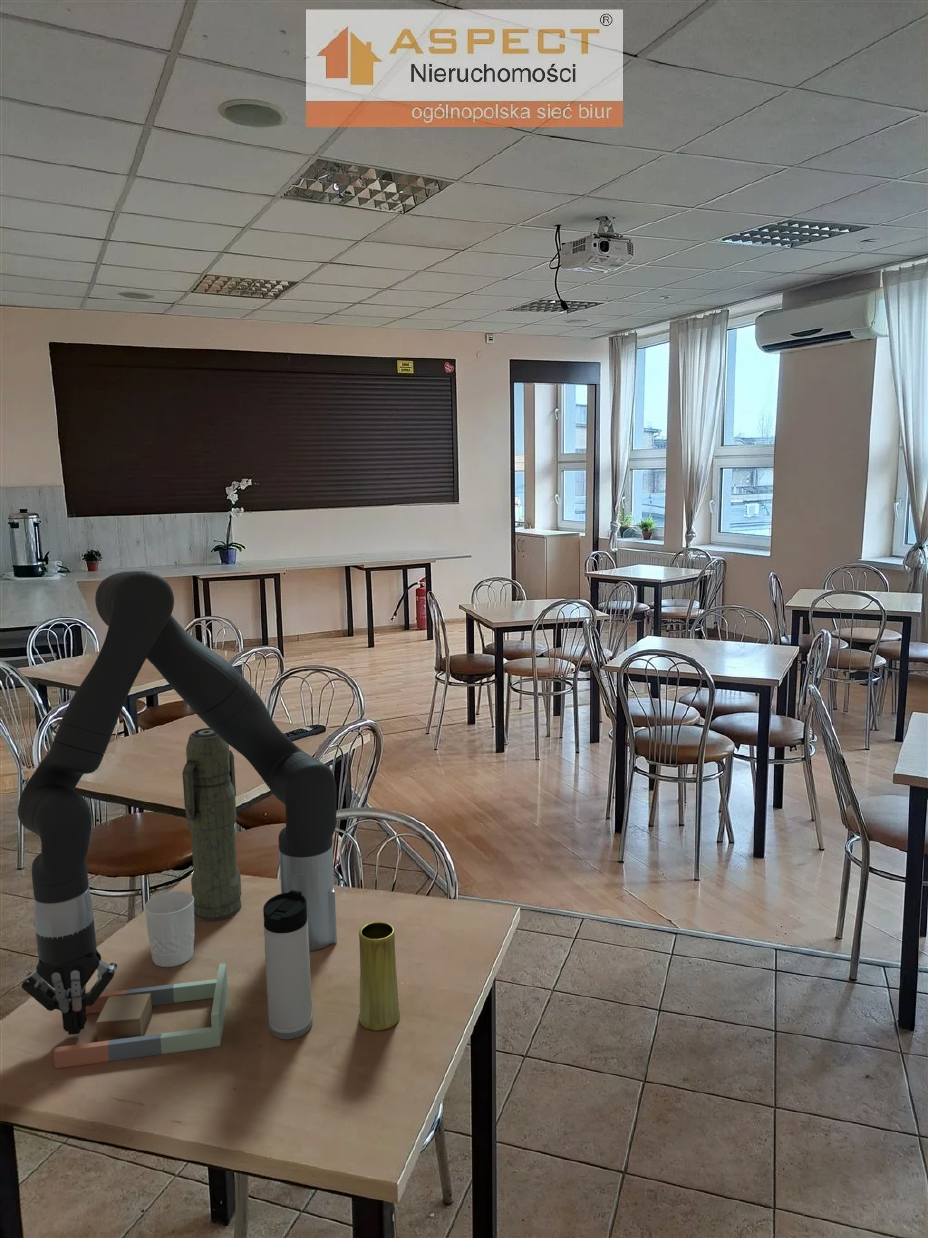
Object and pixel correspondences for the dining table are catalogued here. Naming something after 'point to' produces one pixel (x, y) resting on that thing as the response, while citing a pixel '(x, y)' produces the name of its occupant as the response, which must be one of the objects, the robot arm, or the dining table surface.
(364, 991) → the vase
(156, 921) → the white cup
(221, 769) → the thermos
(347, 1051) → the dining table surface
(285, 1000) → the travel mug
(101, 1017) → the walnut block
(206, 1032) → the channel
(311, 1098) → the dining table surface
